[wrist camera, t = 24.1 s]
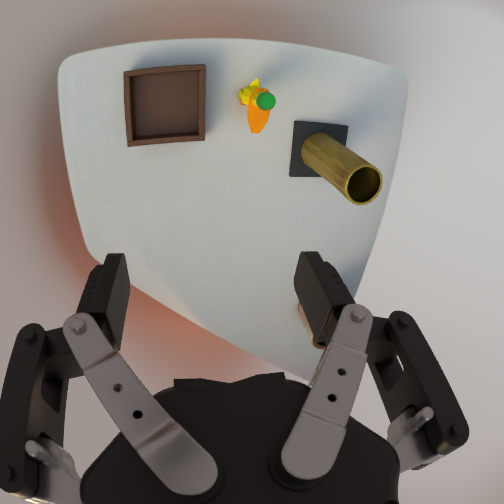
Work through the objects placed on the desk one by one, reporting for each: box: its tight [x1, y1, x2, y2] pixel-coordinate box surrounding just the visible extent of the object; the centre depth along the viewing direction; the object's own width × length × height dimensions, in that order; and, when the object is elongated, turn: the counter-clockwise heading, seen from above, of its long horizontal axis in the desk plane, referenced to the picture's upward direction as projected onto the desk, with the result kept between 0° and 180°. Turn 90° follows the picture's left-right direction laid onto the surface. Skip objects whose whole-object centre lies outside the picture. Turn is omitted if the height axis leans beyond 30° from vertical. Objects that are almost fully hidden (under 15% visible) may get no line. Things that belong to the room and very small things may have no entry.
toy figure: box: [238, 78, 276, 133], centre depth 32 cm, size 7×4×12 cm, turn 171°
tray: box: [124, 64, 205, 147], centre depth 34 cm, size 11×11×3 cm
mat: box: [289, 121, 348, 177], centre depth 43 cm, size 9×9×1 cm
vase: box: [301, 133, 382, 205], centre depth 37 cm, size 6×6×14 cm
